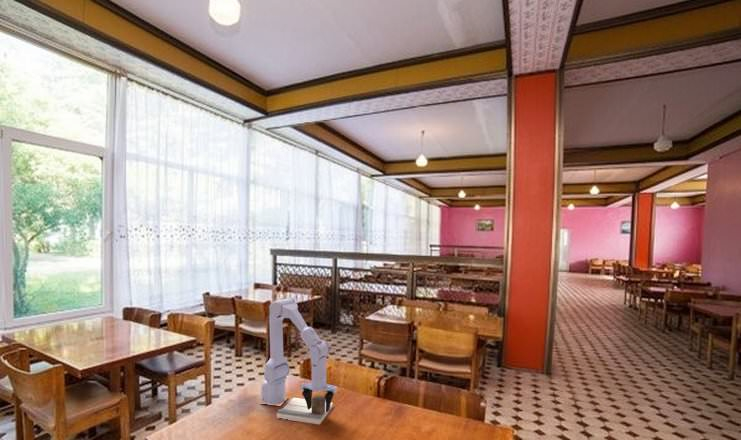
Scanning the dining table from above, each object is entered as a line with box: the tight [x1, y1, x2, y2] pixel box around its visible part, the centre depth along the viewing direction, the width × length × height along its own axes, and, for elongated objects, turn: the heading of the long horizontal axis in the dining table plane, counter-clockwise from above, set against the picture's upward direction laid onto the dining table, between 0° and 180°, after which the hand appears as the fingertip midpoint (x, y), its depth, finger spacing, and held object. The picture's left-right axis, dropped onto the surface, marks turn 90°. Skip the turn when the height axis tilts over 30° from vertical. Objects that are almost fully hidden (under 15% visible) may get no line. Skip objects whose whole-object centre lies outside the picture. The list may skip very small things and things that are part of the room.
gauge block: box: [312, 394, 326, 415], centre depth 131 cm, size 4×4×6 cm
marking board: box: [276, 397, 334, 425], centre depth 134 cm, size 18×14×2 cm
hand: (318, 409), depth 131 cm, fingers open, 7 cm apart
